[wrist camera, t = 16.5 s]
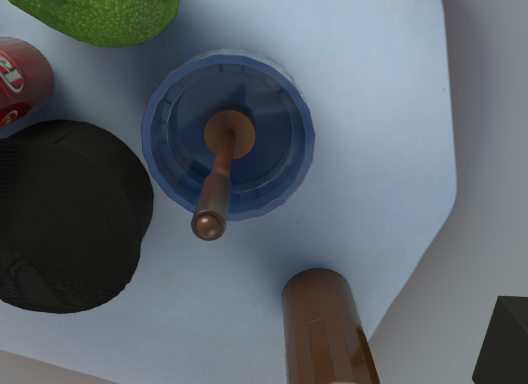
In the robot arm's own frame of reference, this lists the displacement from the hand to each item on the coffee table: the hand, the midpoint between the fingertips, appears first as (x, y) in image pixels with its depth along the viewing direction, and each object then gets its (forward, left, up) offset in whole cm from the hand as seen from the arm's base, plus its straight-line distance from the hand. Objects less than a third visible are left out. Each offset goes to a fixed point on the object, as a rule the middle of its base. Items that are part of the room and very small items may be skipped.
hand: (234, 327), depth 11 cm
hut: (+19, +13, -35) cm, 42 cm away
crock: (-9, +25, -35) cm, 44 cm away
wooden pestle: (+2, +4, -34) cm, 35 cm away
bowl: (+2, +4, -35) cm, 36 cm away
